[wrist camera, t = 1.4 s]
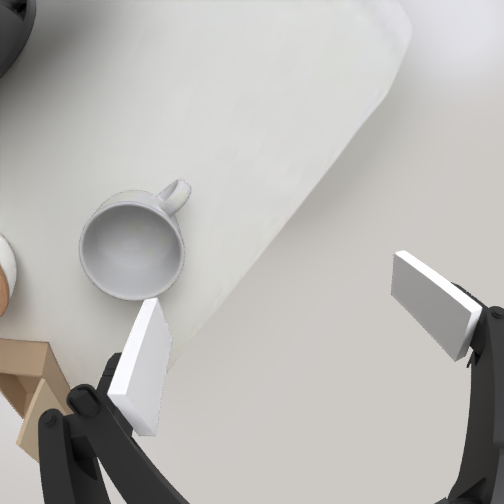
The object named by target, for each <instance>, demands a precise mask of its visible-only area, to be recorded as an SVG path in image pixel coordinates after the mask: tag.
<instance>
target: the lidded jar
mask: <svg viewBox="0 0 504 504" xmlns="http://www.w3.org/2000/svg"><path fill="white" fill-rule="evenodd" d="M16 270H17V268H16V261H15V256H14V254H13V251H12V249H11V247H10V245H9V243H8V241H7V240H6V239H5V238H4V237H3V236H2V235H0V317H1V316H2V315H3V314H4V312H5V311H6V309H7V306H8V303H9V300H10V298H11V295H12V293H13V290H14V286H15V281H16Z"/></svg>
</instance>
